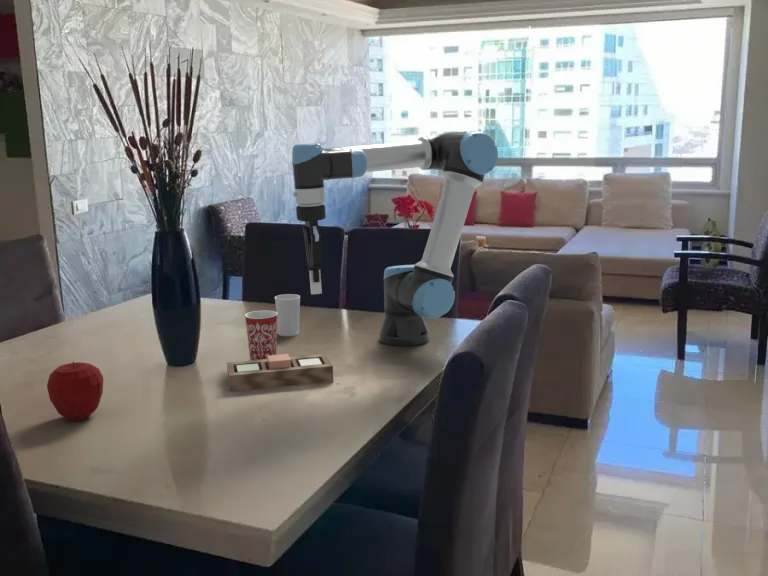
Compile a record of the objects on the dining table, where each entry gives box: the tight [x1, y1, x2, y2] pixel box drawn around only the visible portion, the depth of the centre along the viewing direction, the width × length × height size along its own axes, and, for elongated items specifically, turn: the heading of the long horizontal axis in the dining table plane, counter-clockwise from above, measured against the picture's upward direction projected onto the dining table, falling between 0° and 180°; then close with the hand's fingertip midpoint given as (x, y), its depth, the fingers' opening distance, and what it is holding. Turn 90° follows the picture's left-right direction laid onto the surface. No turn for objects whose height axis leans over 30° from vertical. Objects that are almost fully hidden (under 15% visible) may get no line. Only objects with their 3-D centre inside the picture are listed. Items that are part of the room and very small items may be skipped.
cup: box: [274, 293, 301, 337], centre depth 236 cm, size 8×8×12 cm
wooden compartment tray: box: [226, 353, 334, 393], centre depth 192 cm, size 26×11×4 cm, turn 104°
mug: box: [244, 310, 278, 361], centre depth 210 cm, size 13×9×14 cm
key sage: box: [237, 364, 259, 372], centre depth 190 cm, size 5×5×4 cm
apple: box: [46, 360, 104, 422], centre depth 168 cm, size 12×12×13 cm
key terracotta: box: [267, 353, 291, 369], centre depth 192 cm, size 5×5×4 cm
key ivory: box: [298, 358, 322, 367], centre depth 194 cm, size 5×5×4 cm
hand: (316, 293), depth 198 cm, fingers closed
